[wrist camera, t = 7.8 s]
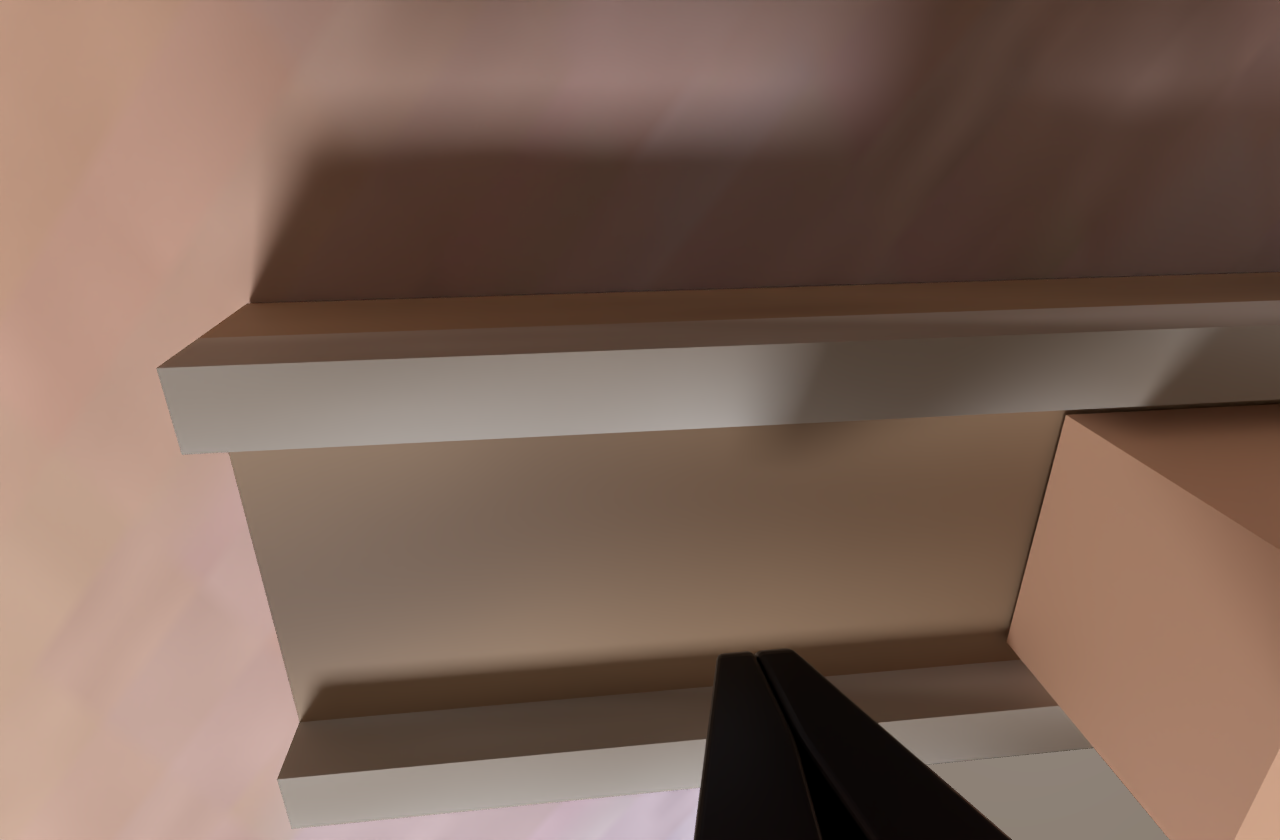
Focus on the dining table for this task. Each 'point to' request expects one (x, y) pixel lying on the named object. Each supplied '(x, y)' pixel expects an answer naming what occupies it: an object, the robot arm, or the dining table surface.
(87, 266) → the dining table surface
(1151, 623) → the block
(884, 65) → the dining table surface
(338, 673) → the track
